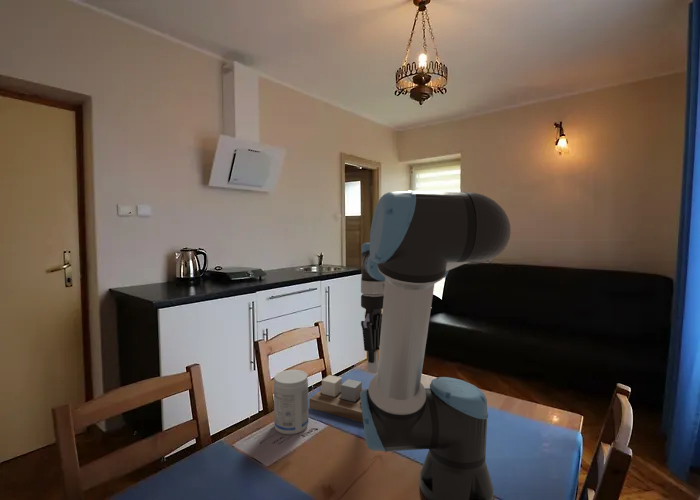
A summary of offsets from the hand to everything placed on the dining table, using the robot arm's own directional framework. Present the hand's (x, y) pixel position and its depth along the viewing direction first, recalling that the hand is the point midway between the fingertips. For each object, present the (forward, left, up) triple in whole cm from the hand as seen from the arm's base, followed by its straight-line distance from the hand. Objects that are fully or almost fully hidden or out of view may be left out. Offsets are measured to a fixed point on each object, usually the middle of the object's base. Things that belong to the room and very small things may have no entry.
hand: (372, 371), depth 110 cm
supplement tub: (-18, +17, -13) cm, 28 cm away
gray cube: (0, +7, -10) cm, 12 cm away
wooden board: (0, +7, -13) cm, 15 cm away
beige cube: (0, +14, -10) cm, 17 cm away
